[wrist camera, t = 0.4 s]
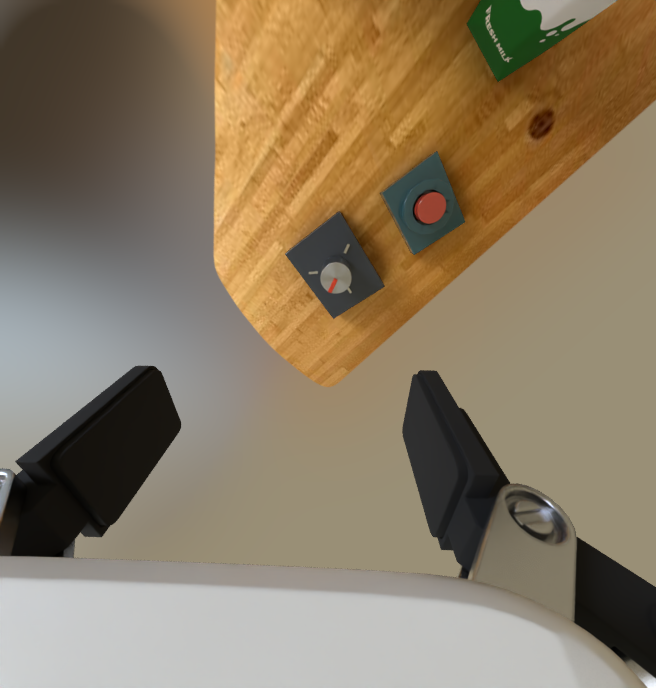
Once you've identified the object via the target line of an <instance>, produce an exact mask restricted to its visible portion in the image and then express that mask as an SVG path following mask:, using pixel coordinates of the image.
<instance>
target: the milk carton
mask: <svg viewBox="0 0 656 688" xmlns="http://www.w3.org/2000/svg"><path fill="white" fill-rule="evenodd" d="M616 1H617V0H480V2H479V4H478V6H477V7H476V9H475V11H474V12H473V14H472V16H471V17H470V19H469V21H468V22H467V26H468V27H469V29H470V31H471V33H472V35H473V37H474V39H475V40H476V42H477V44H478V46H479V48H480V50H481V52H482V53H483V55H484V57H485V59H486V61H487V63H488V65H489V66H490V68H491V70H492V72H493V74H494V76H495V78H496V79H497V81H498V82H499V81H500V80H502V79H503V78H505V77H506V76H508V75H509V74H511V73H513V72H514V71H516V70H517V69H519V68H520V67H522V66H523V65H525V64H527V63H528V62H530V61H531V60H533V59H534V58H536V57H537V56H539V55H540V54H542V53H543V52H545V51H546V50H548V49H549V48H551V47H552V46H554V45H555V44H557V43H558V42H560V41H561V40H562V39H564V38H565V37H567V36H568V35H569V34H571V33H572V32H574V31H575V30H576V29H578V28H579V27H581V26H582V25H583V24H585V23H586V22H588V21H589V20H590V19H592V18H593V17H595V16H596V15H597V14H599V13H600V12H602V11H603V10H604V9H606V8H607V7H609V6H610V5H611V4H613V3H614V2H616Z"/></svg>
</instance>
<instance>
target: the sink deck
mask: <svg viewBox="0 0 656 688" xmlns="http://www.w3.org/2000/svg"><path fill="white" fill-rule="evenodd" d="M285 255H286V256H287V257H288V259H289V260H290V261H291V263H292V264H293V265H294V267H295V268H296V269H297V271H298V272H299V273H300V275H301V276H302V277H303V279H304V280H305V281H306V283H307V284H308V285H309V287H310V288H311V289H312V291H313V292H314V293H315V295H316V296H317V297H318V299H319V300H320V301H321V303H322V304H323V305H324V307H325V308H326V309H327V311H328V312H329V313H330V315H331V316H332V318H333V319H334V318H335V317H337V316H339V315H340V314H342V313H343V312H345V311H346V310H348V309H350V308H351V307H353V306H354V305H356V304H358V303H359V302H361V301H362V300H364V299H366V298H367V297H369V296H370V295H372V294H374V293H375V292H377V291H378V290H380V289H382V288H383V287H385V286H384V284H383V282H382V280H381V279H380V277H379V275H378V274H377V272H376V270H375V269H374V267H373V265H372V264H371V262H370V260H369V259H368V257H367V255H366V254H365V252H364V250H363V249H362V247H361V246H360V244H359V242H358V241H357V239H356V237H355V236H354V234H353V232H352V231H351V229H350V227H349V226H348V224H347V222H346V221H345V219H344V217H343V216H342V214H341V212H340V211H338V212H337V213H336V214H335V215H333V216H332V217H331V218H329V219H328V220H327V221H326V222H324V223H323V224H322V225H320V226H319V227H318V228H317V229H315V230H314V231H313V232H311V233H310V234H309V235H308V236H306V237H305V238H304V239H303V240H301V241H300V242H299V243H297V244H296V245H295V246H294V247H292V248H291V249H290V250H288V252H287V253H286V254H285ZM333 256H339V257H342V258H344V259H345V260H346V261H347V262H348V263H349V265H350V270H351V275H352V281H351V284H350V286H349V287H348V289H347V290H345V291H344V292H342V293H337V294H335V293H329V292H328V291H327V290H326V289H325V288H324V287H323V286H322V284H321V279H320V277H321V272H322V267H323V264H324V263H325V261H326V260H327V259H329V258H330V257H333Z"/></svg>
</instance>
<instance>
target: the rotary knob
mask: <svg viewBox="0 0 656 688" xmlns="http://www.w3.org/2000/svg"><path fill="white" fill-rule="evenodd" d="M320 279H321V284H322V286H323V287H324V288H325V289H326V290H327V291H328V292H329V293H335V294H337V293H342V292H344V291H345V290H347V289H348V287H349V286H350V284H351V281H352V275H351V270H350V265H349V263H348V262H347V261H346V260H345V259H344V258H342V257H339V256H333V257H330V258H329V259H327V260H326V261H325V263H324V264H323V267H322V272H321V277H320Z"/></svg>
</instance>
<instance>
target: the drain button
mask: <svg viewBox="0 0 656 688" xmlns="http://www.w3.org/2000/svg"><path fill="white" fill-rule="evenodd" d="M445 209H446V200H445V198H444V196H443V195H442V194H440V193H437V192H430V193H426V194H424V195H422V196H421V197H420V198H419V199H418V200H417V202H416V204H415V208H414V213H415V216H416V218H417V219H418V220H419V221H420V222H423V223H427V224H431V223H434V222H436V221H438V220H439V219H440V218H441V217H442V216H443V214H444V212H445Z"/></svg>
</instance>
